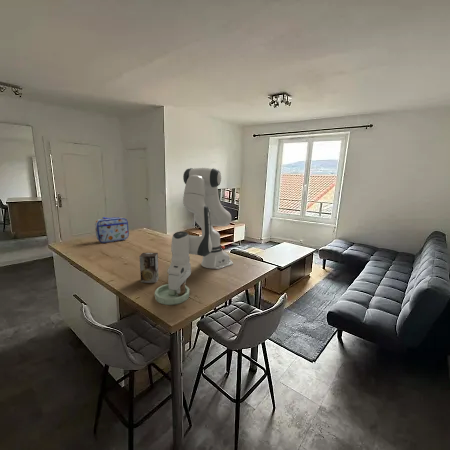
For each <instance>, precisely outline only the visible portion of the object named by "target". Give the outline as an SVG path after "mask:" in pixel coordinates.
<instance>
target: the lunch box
mask: <svg viewBox="0 0 450 450" xmlns="http://www.w3.org/2000/svg"><path fill="white" fill-rule="evenodd" d="M94 222H95V224H94V225H95V226H94V227H95V229H94V231H95V236H96V239H97V240H98V242H100V243H102V244H107V243H113V242H114V241H115V242H118V241H119V242H120V241H123V240H126V239H128V238H129V236H130V235H129V234H130V233H129V222H128V220H127V218H124V217H106V216H103V217H102V218H99V219H96V220H95V221H94Z"/></svg>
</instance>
